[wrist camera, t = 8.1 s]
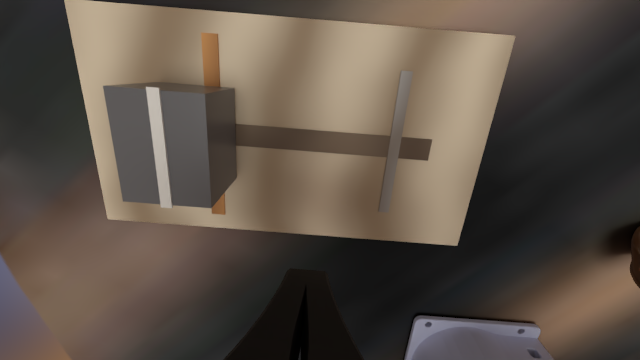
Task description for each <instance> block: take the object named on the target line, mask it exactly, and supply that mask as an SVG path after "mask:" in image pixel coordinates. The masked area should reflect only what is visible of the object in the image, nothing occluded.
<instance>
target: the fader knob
mask: <svg viewBox="0 0 640 360" xmlns="http://www.w3.org/2000/svg"><path fill="white" fill-rule="evenodd" d="M103 90H104V96H105V101H106V107H107V113H108V119H109V124H110V130H111V136H112V142H113V147H114V153H115V159H116V165H117V170H118V176H119V182H120V188H121V193H122V199H123V202H136V203H149V204H160V205H161V208H173V205H175V206H188V207H201V208H212V207H213V206H214V205H215V204H216V202H217V201H218V200H219V199H220V198H221V196H222V195H223V194H224V193H225V191H226V190H227V189H228V188H229V187H230V185H231V184H232V183H233V182H234V181H235V179H236V178H237V172H236V131H235V91H234V88H228V87H215V86H203V85H190V84H178V83H165V82H148V83H134V84H120V85H105V86H103Z"/></svg>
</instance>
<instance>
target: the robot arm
mask: <svg viewBox="0 0 640 360" xmlns="http://www.w3.org/2000/svg"><path fill="white" fill-rule="evenodd" d="M427 322H429V323H427ZM540 332H541V330H540V328H539V327H538V326H537V325H536V324H530V323H516V322H503V321H489V320H476V319H462V318H449V317H435V316H422V315H421V316H417V317H416V318H415V319H414V321H413V325H412V329H411V333H410V338H409V342H408V346H407V350H406V354H405V358H404V360H554V359H553V358H552V356H551V355H550V354H549V353H548V351H547V350H546V349H545V347H544V346H543V345H542V344H541V342H540V341H539V340H538V337H539V334H540ZM300 347H301V360H364V359H363V357H362V355H361V353H360V352H359V350H358V348H357V346H356V344H355V342H354V340H353V339H352V337H351V335H350V333H349V331H348V329H347V327H346V324H345V322H344V320H343V318H342V315H341V313H340V311H339V309H338V306H337V304H336V301H335V298H334V296H333V293H332V290H331V287H330V283H329V279H328V274H327V273H326V272H325V271H313V270H302V269H289V270H288V271H287V272H286V275H285V277H284V279H283V281H282V283H281V285H280V286H279V288H278V290H277V291H276V293H275V295H274V296H273V298H272V299H271V301H270V302H269V304H268V305H267V307H266V308H265V310H264V311H263V313H262V314H261V315H260V317H259V318H258V319H257V321H256V322H255V323H254V324H253V326H252V327H251V328H250V330H249V331H248V332H247V333H246V335H245V336H244V337H243V338H242V339H241V341H240V342H239V343H238V344H237V345H236V346H235V348H234V349H233V350H232V351H231V352H230V353H229V354H228V355H227V356H226V357H225V359H224V360H298V358H299V353H300Z"/></svg>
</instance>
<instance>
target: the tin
mask: <svg viewBox="0 0 640 360" xmlns="http://www.w3.org/2000/svg"><path fill="white" fill-rule="evenodd" d="M631 255H632V261H631V264H630V273H631V275H632V278H633V280H634V282H635V283H636V284H637V286H638V287H639V288H640V226H639V227H638V228H637V229H636V231H635V232H634V234H633V236H632V241H631Z"/></svg>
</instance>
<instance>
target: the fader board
mask: <svg viewBox="0 0 640 360" xmlns="http://www.w3.org/2000/svg"><path fill="white" fill-rule="evenodd" d="M64 1H65V6H66V11H67V16H68V21H69V26H70V31H71V37H72V42H73V47H74V52H75V57H76V62H77V67H78V72H79V77H80V82H81V87H82V92H83V97H84V102H85V107H86V112H87V117H88V122H89V127H90V132H91V137H92V142H93V147H94V152H95V157H96V163H97V168H98V173H99V178H100V183H101V188H102V193H103V198H104V203H105V208H106V213H107V218H108V219H113V220H126V221H139V222H152V223H165V224H178V225H191V226H204V227H218V228H231V229H244V230H257V231H270V232H283V233H296V234H309V235H322V236H335V237H349V238H362V239H375V240H388V241H401V242H414V243H427V244H440V245H453V246H457V245H458V241H459V238H460V234H461V230H462V227H463V223H464V220H465V216H466V212H467V209H468V205H469V202H470V198H471V194H472V191H473V187H474V184H475V180H476V176H477V173H478V169H479V166H480V162H481V159H482V155H483V151H484V148H485V144H486V141H487V137H488V133H489V130H490V126H491V123H492V119H493V115H494V112H495V108H496V105H497V101H498V98H499V94H500V90H501V87H502V83H503V80H504V76H505V72H506V69H507V65H508V62H509V58H510V54H511V51H512V47H513V44H514V40H515V36H512V35H500V34H488V33H475V32H463V31H451V30H439V29H427V28H415V27H403V26H390V25H378V24H366V23H354V22H342V21H330V20H318V19H306V18H293V17H281V16H269V15H257V14H245V13H233V12H221V11H208V10H196V9H184V8H172V7H160V6H148V5H136V4H124V3H111V2H99V1H87V0H64ZM148 82H165V83H178V84H190V85H203V86H215V87H228V88H234V91H235V131H236V172H237V178H236V179H235V181H234V182H233V183H232V184H231V185H230V187H229V188H228V189H227V190H226V191H225V193H224V194H223V195H222V196H221V198H220V199H219V200H218V201H217V202H216V204H215V205H214V206H213V207H212V208H201V207H188V206H175V205H173V208H161V205H160V204H149V203H136V202H123V199H122V193H121V188H120V182H119V176H118V170H117V165H116V159H115V153H114V147H113V142H112V136H111V130H110V124H109V119H108V113H107V107H106V101H105V96H104V90H103V86H105V85H120V84H134V83H148Z"/></svg>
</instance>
